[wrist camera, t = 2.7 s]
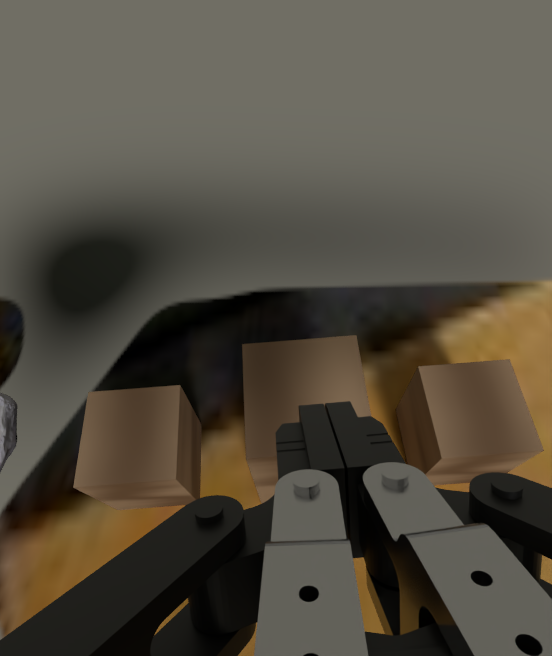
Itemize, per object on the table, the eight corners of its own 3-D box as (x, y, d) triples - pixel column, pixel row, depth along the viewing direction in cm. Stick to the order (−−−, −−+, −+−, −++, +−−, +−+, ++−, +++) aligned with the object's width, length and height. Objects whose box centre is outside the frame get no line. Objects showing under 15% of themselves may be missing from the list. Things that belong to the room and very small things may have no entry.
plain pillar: (339, 410, 30) (356, 335, 22) (351, 496, 27) (377, 448, 19) (257, 416, 30) (242, 344, 22) (261, 503, 27) (246, 458, 19)
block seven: (201, 420, 30) (180, 380, 25) (200, 503, 28) (175, 479, 22) (127, 426, 30) (89, 387, 25) (118, 510, 28) (73, 487, 22)
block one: (468, 400, 30) (507, 355, 25) (493, 480, 28) (543, 450, 22) (394, 405, 30) (417, 362, 25) (412, 486, 28) (441, 458, 22)
